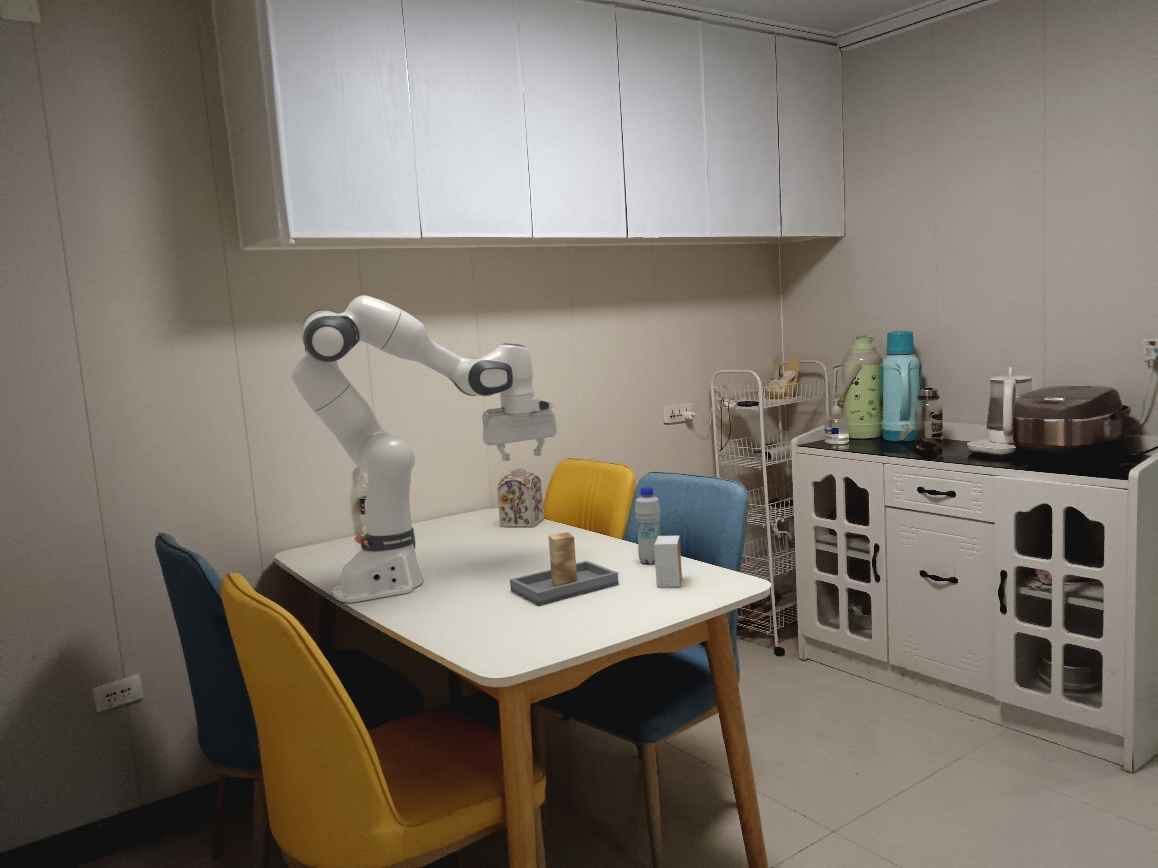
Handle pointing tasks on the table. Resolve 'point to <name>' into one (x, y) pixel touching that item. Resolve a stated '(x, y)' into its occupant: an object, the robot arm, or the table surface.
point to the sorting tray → (545, 592)
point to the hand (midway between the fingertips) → (522, 458)
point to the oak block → (562, 559)
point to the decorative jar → (520, 499)
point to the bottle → (647, 523)
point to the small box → (668, 561)
